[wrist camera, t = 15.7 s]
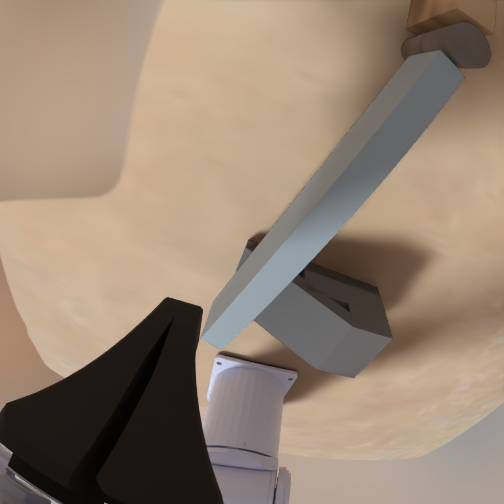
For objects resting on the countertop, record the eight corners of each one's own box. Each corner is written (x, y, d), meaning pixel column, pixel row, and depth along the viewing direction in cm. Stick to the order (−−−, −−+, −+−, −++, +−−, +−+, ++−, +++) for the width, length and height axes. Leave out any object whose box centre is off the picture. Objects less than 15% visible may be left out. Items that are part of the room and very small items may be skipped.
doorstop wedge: (377, 287, 20) (392, 338, 15) (347, 327, 22) (353, 378, 18) (248, 239, 19) (234, 287, 15) (229, 288, 21) (213, 338, 17)
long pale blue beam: (232, 311, 20) (221, 349, 17) (213, 300, 19) (200, 338, 17) (430, 76, 10) (465, 77, 7) (408, 56, 10) (440, 49, 7)
